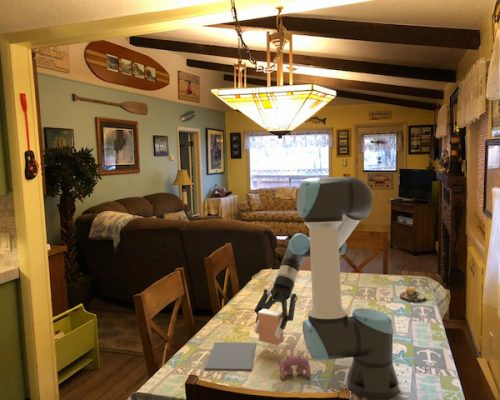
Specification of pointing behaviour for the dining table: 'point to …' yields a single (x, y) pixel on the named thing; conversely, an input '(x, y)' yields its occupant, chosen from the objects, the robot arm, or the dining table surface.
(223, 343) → the mat
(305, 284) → the dining table surface
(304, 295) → the dining table surface
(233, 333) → the dining table surface
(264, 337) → the block
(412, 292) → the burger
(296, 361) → the video game controller
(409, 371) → the dining table surface
